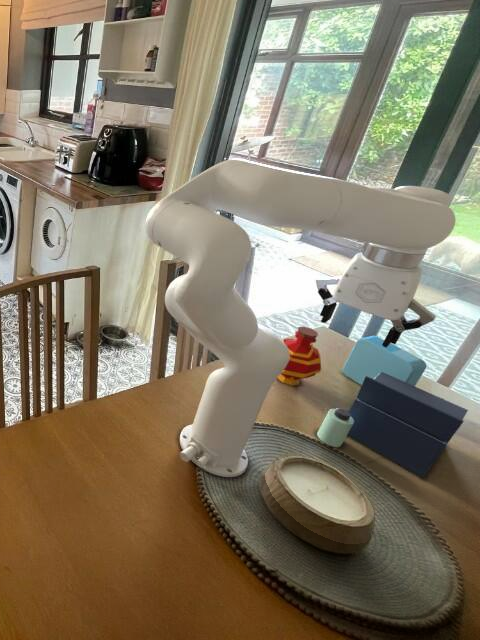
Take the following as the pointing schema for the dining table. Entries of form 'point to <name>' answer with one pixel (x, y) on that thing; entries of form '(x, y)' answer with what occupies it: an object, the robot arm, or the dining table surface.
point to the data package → (382, 362)
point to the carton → (400, 429)
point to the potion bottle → (301, 357)
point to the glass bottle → (335, 427)
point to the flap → (409, 409)
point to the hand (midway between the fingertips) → (354, 331)
